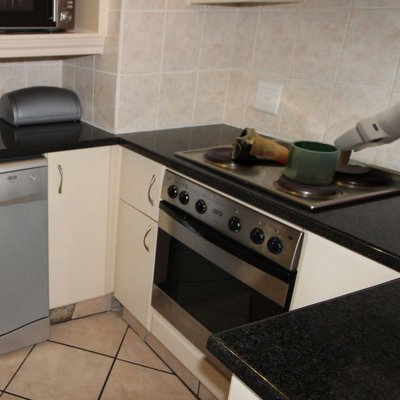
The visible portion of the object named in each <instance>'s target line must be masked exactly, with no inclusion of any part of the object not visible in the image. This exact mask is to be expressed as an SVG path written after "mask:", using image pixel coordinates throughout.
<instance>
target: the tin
mask: <svg viewBox="0 0 400 400" xmlns="http://www.w3.org/2000/svg"><path fill="white" fill-rule="evenodd" d="M288 150H289V153H288V157H287V162H286V163H285V167H284V171H283V175H284V177H285V178H287V180H290V181H292V182H293V181H294V182H296V183H299V184H304V185H310V186H328V185H331V184H332V183H333V182H334V180H335V179H334V178H335V175H336V172H335V171H336V168H337V164H338V160H339V157H340V153H341V149H340V148H339V147H337V146H335V145H334V144H330V143H328V142H323V141H316V140H303V139H301V140H293V141H291V142H290V145H289V149H288ZM291 176H292V177H291ZM294 177H296V178H294ZM297 178H302V179H308V180H316V181H328V182H312V181H305V180H301V179H297Z"/></svg>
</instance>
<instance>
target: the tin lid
mask: <svg viewBox="0 0 400 400" xmlns="http://www.w3.org/2000/svg"><path fill="white" fill-rule="evenodd" d="M352 153H353V150H348V151H342V152H341V153H340V156H339V160H338V164H337V165H340V166H348V165H349V164H351V165H359V166H362V167H367V166H366V165H365V164H362V163H360V162H357V161H353V160H351V156H352ZM335 173H340V174H348V175H364V174H366V173H369V170H368V171H367V172H363V173H350V172H342V171H335Z"/></svg>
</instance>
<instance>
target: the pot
mask: <svg viewBox="0 0 400 400" xmlns="http://www.w3.org/2000/svg"><path fill="white" fill-rule="evenodd" d="M230 146H231V147H232V155H231V159H235V160H237V161H239V162H240V161H241V162H243V161H251V160H253V161H255V160H256V159H257V158H258V157H259V158H263V157H265V158H267V159H269V158H271V159H273V160H275V161H276V162H279V163H281V164H282V165H286V162H287V157H288V153H289V149H288V148H287V147H285V146H283V145H282V144H279V143H278V142H276V141H273V140H271V139H268V138H266V137H263V136H261V134H259V133H258V132H257V131H256V128H253V127H246V126H245V127H244V128H243V130H242V132H241V133H240V135H239V136H237V137H235V141H234V142H233V143H231V144H230Z"/></svg>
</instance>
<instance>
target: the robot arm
mask: <svg viewBox="0 0 400 400" xmlns="http://www.w3.org/2000/svg"><path fill="white" fill-rule="evenodd" d="M399 139H400V100H398V101H397V102H396V103H395V104H394V105H393V106H390V107H387V108H385V109H384V110H382V111H380V112H378V113H376V114H374V115H372V116H369V117H367V118H364V119H361V120H359V121H358V122H356V123H355V126H353V127H351V128H349V129H348V130H347V131H345V132H344V133H342V134H341V135H339V136H338V137H336V138H335V140H334V141H333V145H334V146H337V147H339V148H340V149H341V152H342V151H348V150H352V152H353V153H358V152H361V151H363V150H366V149H368V148H374V147H381V146H383V145H390V144H392V143H393V142H396V141H397V140H399Z"/></svg>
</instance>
